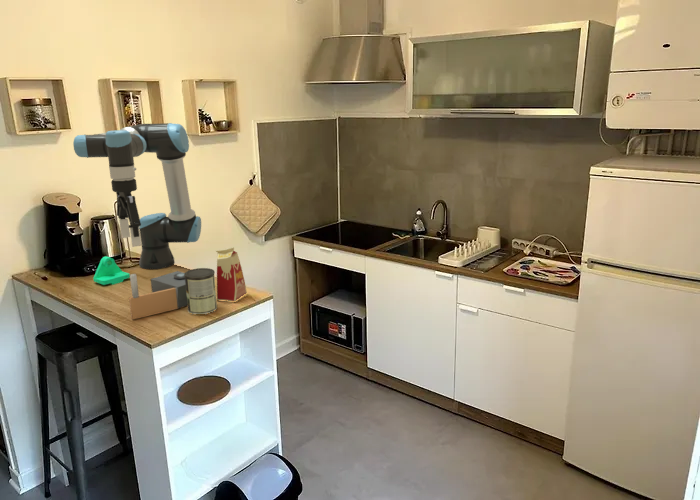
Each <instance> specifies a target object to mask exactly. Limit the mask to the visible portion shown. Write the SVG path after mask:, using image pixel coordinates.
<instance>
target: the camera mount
mask: <svg viewBox="0 0 700 500" xmlns="http://www.w3.org/2000/svg"><path fill="white" fill-rule="evenodd" d="M92 279H93V282H95V283H97V284H101V285H103V286H106V285H109V284H110V285H112V286H113V285H117V284H120V283H123V282H124V280H126V279H130V272H125V271H123V270H122V269H121V268H120V267H119V265H118V264H117V263H116V262H115V259H114V258H113V257H110V256H107V255H105V256H103V257H102V258H101V259H100V261H99V264H98V266H97V268H96V270H95V274H94V276H93V277H92Z"/></svg>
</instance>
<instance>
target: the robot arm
mask: <svg viewBox="0 0 700 500" xmlns="http://www.w3.org/2000/svg"><path fill="white" fill-rule="evenodd" d="M189 141H190V140H189V137H188V133H187V131H186V129H185V127H184V126H183V125H182V124H180V123H172V122H168V123H165V122H164V123H140V124H136V125H130V126H126V127H125V126H124V127H122V128H120V129H119V130H117V129H116V130H108V131H106V132H103V133H102V132H101V133H94V134H79V135H76V136H75V137H74V139H73V144H72V145H73V152H74V153H75V155H77V157H79V158H86V159H87V158H107V159H108V165H109V167H108V168H109V175H110V179H112V180H111V182H110V183H111V191H112V192H114V193H115V194H116V216H117V217H118V221H119V228H120V235H121V238H122V239H126V238H130V240H131V246H132V248H135V247H140V246H141V253H140V258H139V267H140V268H141V269H145V270H160V269H165V268H169V267H172V266H173V265H175V263H176V262H175V257H174V255H173V253H172V250H171V248H170V243H173V244H174V243H175V244H176V243H179V244H180V243H187V244H188V243H189V244H190V243H196V242H197V241H199V239H200V236H201V232H202V218H201V216H198V215H196V211H195V210H194V209H192V207H191V201H190V194H189V188H188V183H187V177H186V171H185V165H184V164H185V163H184V158H185V157H186V155H187V154H186V153H188V151H189V148H190V143H189ZM144 153H152V154H153V153H154V154H156V158H157V160H158V161H160V162H161V165H162V171H163V176H164V180H165V181H164V182H165V186H166V187H165V188H166V192H167V198H168V202H169V209H170V212H169V213H168V216H167V214H166V212H157V213H151V214H147V215H144V216H142V217H140V215H139V210H138V206H137V204H136V203H137V202H136V201H137V200H136V197H135V195H133V194H132V192H135V191H136V190H138V187H137V186H138V185H137V179H136V171H137V168H136V167H135V162H134V158H136V157H137V158H139V157H140V156H141V155H143V154H144Z"/></svg>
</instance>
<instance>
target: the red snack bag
mask: <svg viewBox="0 0 700 500" xmlns="http://www.w3.org/2000/svg"><path fill="white" fill-rule="evenodd" d="M215 252H216V253H217V256H216V257H217V260H216V301H217V300H228V301H236V300H237V299H239V298H240V297H241V296H243V295H244V294H246V293H247V294H248V292H247V285H246V280H245V277H244V273H243V267H242V265H241V261H240V258H239V254H238V252H237V251H235V247H230V248H228V249H227V248H226V249H219V250H215Z"/></svg>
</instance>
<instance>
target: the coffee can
mask: <svg viewBox="0 0 700 500" xmlns="http://www.w3.org/2000/svg"><path fill="white" fill-rule="evenodd" d="M183 273H184V276H185V284H186V294H187V312H188V314H190V313H192V314H191V315H193V314H205V315H208V314H207V313H209V314H211V313H210V312H212V313H214V312H215V311H214V310H216V309H217V310H218V306H217V289H216V281H215V280H216V278H215V269H212V268H210V267H209V268H208V267H207V268H206V267H200V268H199V267H198V268H194V269H193V268H192V269H188V270H186V271H185V272H183ZM217 310H216V311H217ZM213 311H214V312H213Z"/></svg>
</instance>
